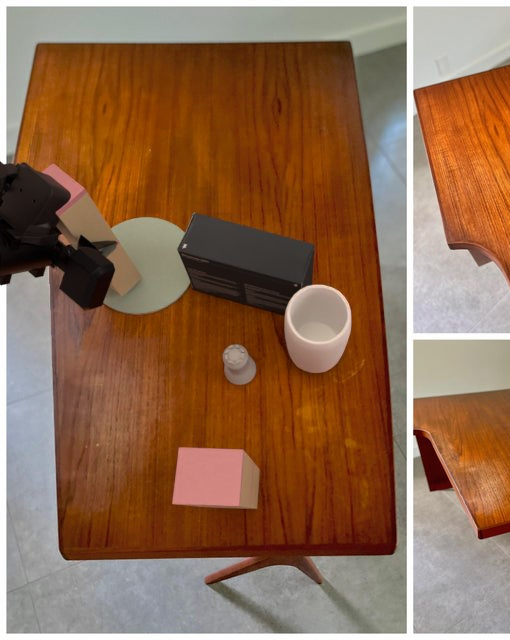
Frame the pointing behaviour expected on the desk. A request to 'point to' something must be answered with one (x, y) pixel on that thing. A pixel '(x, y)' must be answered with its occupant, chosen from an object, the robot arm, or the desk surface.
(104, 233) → the pink-topped tan pillar
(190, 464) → the tall pink tan block
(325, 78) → the desk surface
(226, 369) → the rook chess piece
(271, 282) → the box
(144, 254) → the plate
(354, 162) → the desk surface
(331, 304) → the cup
